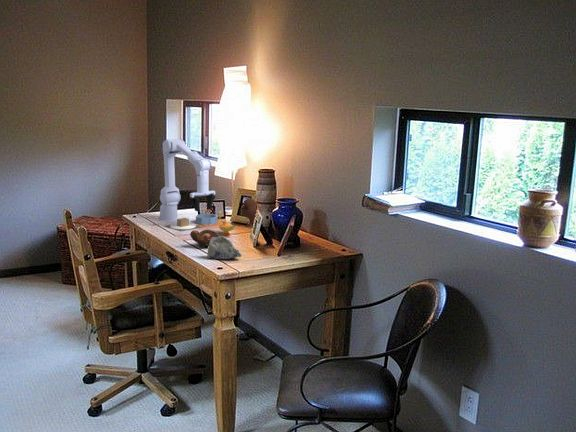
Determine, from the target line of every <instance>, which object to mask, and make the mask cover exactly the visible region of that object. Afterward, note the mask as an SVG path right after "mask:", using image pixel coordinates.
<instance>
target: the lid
mask: <svg viewBox="0 0 576 432" xmlns="http://www.w3.org/2000/svg"><path fill="white" fill-rule="evenodd" d="M169 225H170V228H169V229H171V228H172V229H171V230H174V229H179V230H186V229H192V230H194V229H193V228H195V227H196V223H190V218H188V217H182V218H177V221H176V223H172V224H169ZM186 231H187V230H186Z"/></svg>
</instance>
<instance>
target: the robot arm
mask: <svg viewBox="0 0 576 432" xmlns="http://www.w3.org/2000/svg"><path fill="white" fill-rule="evenodd" d="M179 153H182V154H183V155H185V156H186V157H187V160H188V161H189V163H190V164H192V165H193V166H194V170H195V174H196V191H194V192H191V193H189V198H190V200H191V203H192V205H193V208H194V211H195V212H199V211H200V201H201V198H200V197H203V196H204V197H205V200H206V209H207V210H209V211H210V210H211V208H212V205H213V202H214V200H215V198H216V190H209V188H210V187H209V186H210V185H209V184H210V182H209V181H210V180H209V176H210V175H209V174H210V173H209V171H210V170H211V168H212V163H211V160H210V158H209V159H208V158H204V157H203V156H202V155H200V154H199V153H198V151H195V150H193V151H192V150H191V149H190V148H189V147H188V146H187V145H186V142H185V141H184V140H183V139H182V138H179V139H178V138H177V139H164V141H163V142H162V155H163V165H164V167H163V168H164V169H163V171H164V172H163V173H164V187H162V189H161V190H160V195H159V201H160V202H161V205H160V207H159V218H158V220H159V221H165V222H167V223H168V222H169V223H170V222H177V219H178V205H179V203H180V201H181V194H180V189H179V188H178V187H177V186H176V173H175V170H176V169H175V156H177V154H179Z"/></svg>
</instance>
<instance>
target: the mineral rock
mask: <svg viewBox="0 0 576 432" xmlns="http://www.w3.org/2000/svg"><path fill="white" fill-rule="evenodd" d="M241 257H242V254H241V252H240V250H238V249H237V248H236V247H234V244H233V243H232V241H231V240H230V239H228V238H227V237H225V236H223V235H219V236H218V237H212V238H211V241H210V243H209V246H207V258H208V259H216V260H217V259H222V260H230V259H235V258H241Z"/></svg>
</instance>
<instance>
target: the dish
mask: <svg viewBox="0 0 576 432" xmlns="http://www.w3.org/2000/svg"><path fill="white" fill-rule="evenodd" d="M218 220H219V216H218V215H217V214H213V213H201V214H196V216H195V224H197V225H200V226H212V225H217V224H218Z"/></svg>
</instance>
